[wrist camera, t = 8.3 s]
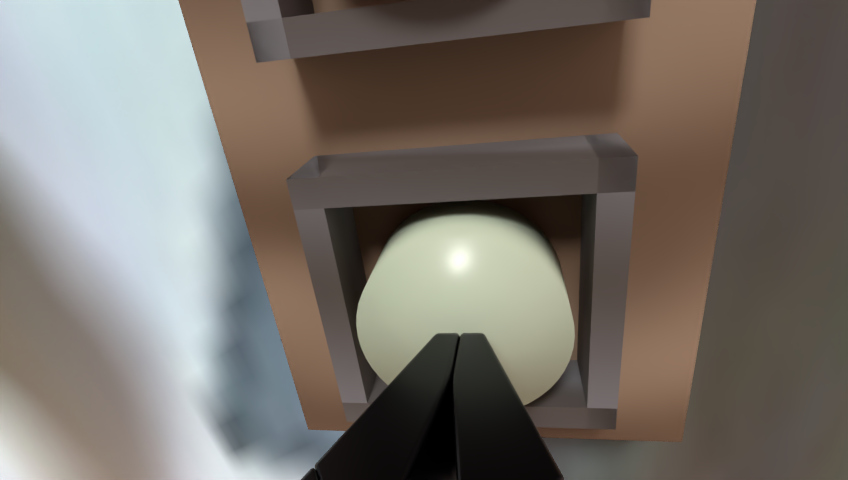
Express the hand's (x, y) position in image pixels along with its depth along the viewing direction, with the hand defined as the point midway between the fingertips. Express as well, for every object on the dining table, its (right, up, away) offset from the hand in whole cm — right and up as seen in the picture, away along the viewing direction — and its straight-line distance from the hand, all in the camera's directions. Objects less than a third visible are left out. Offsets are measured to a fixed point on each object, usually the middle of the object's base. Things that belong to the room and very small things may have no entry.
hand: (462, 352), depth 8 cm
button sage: (0, +1, +2) cm, 2 cm away
